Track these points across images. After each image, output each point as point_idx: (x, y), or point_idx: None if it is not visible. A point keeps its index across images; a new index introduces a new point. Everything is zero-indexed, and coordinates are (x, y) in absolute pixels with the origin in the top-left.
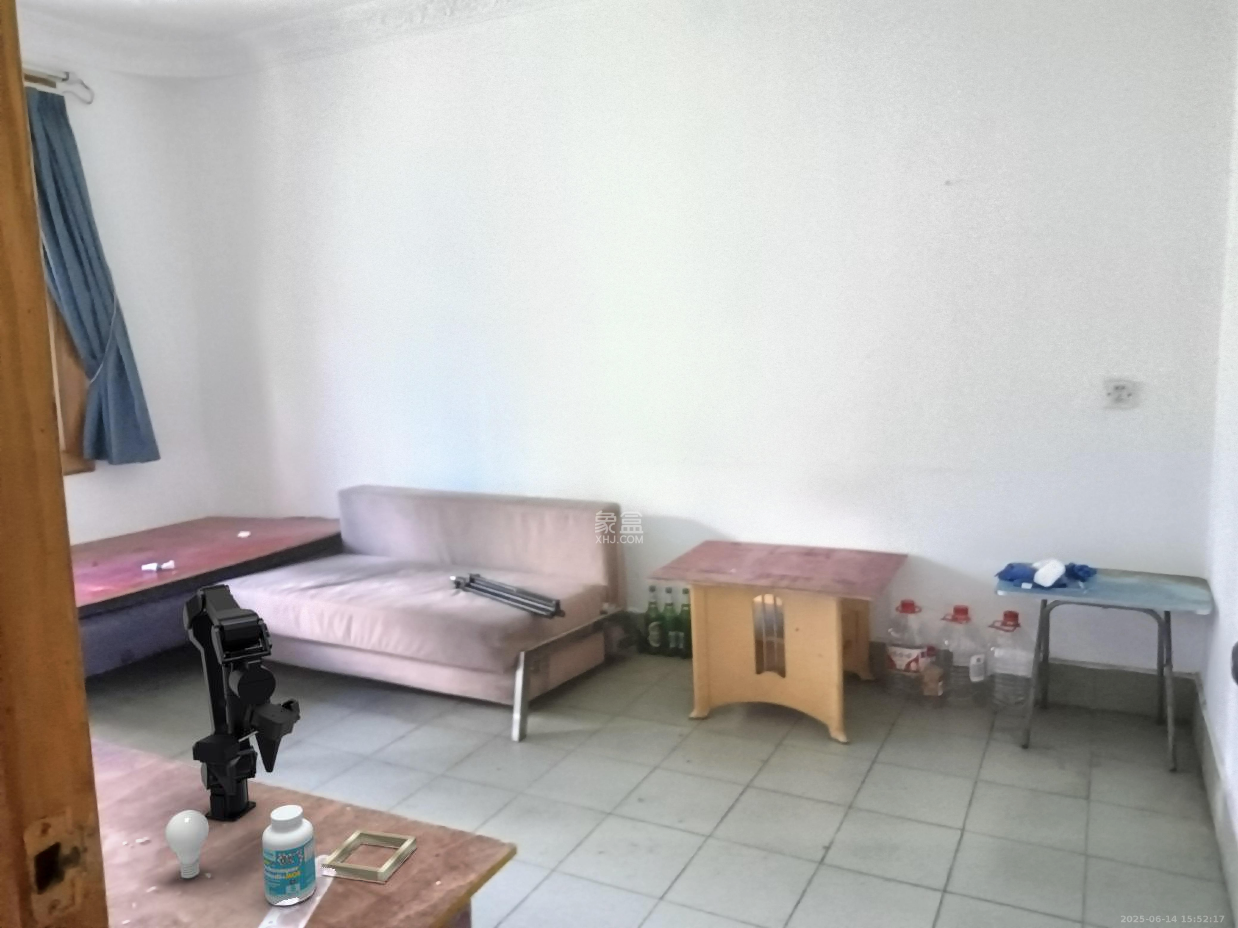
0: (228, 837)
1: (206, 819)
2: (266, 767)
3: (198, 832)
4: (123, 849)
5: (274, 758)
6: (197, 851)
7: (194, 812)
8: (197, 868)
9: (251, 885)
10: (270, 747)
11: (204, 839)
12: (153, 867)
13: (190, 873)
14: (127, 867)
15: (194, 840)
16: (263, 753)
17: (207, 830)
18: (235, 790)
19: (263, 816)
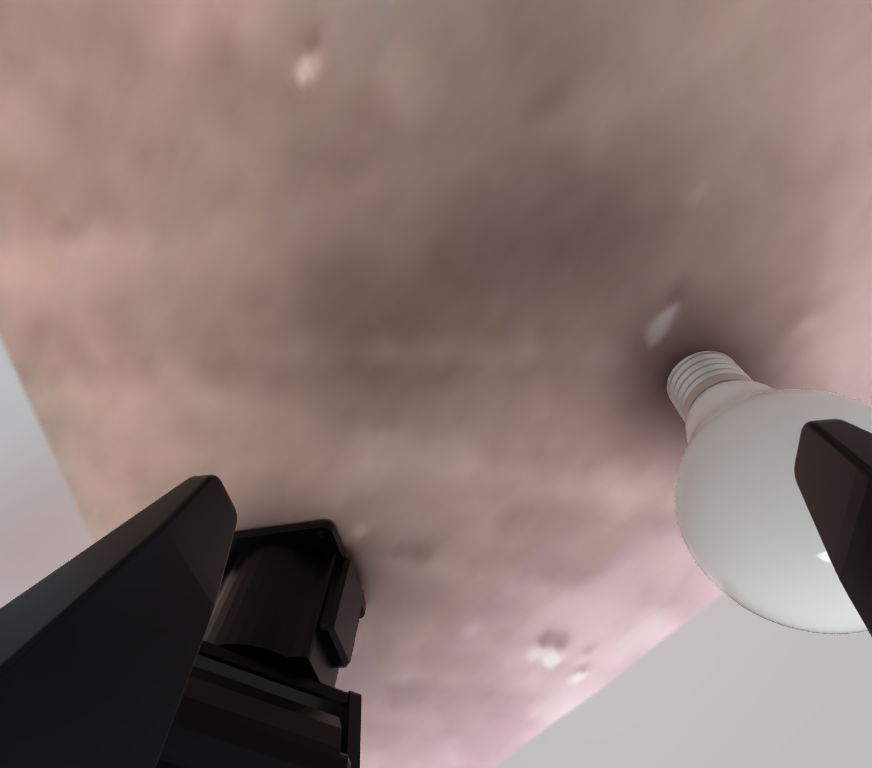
0: (416, 461)
1: (751, 480)
2: (216, 547)
3: (865, 422)
4: (610, 658)
5: (90, 565)
6: (758, 390)
7: None
8: (702, 365)
9: (687, 57)
10: (9, 754)
11: (772, 394)
12: (673, 526)
13: (736, 364)
14: (695, 586)
15: (870, 405)
16: (143, 717)
17: (766, 417)
18: (827, 438)
19: (244, 463)
